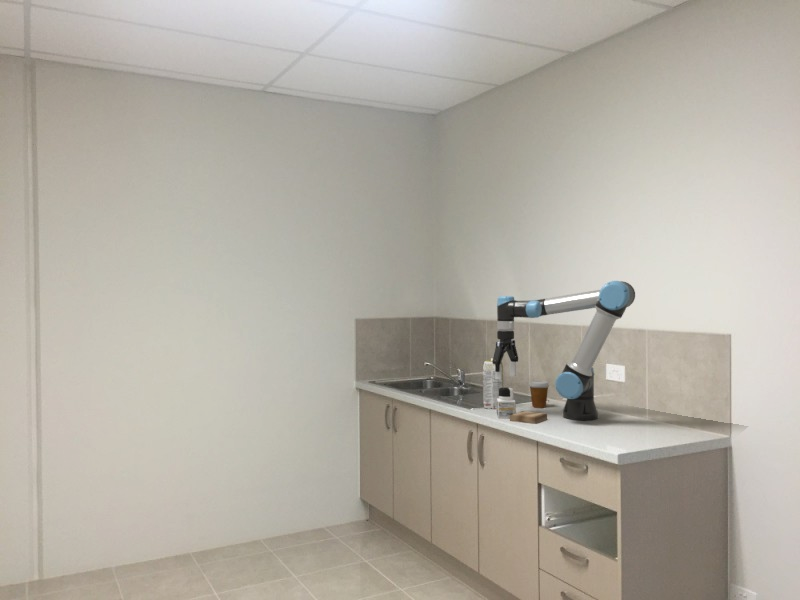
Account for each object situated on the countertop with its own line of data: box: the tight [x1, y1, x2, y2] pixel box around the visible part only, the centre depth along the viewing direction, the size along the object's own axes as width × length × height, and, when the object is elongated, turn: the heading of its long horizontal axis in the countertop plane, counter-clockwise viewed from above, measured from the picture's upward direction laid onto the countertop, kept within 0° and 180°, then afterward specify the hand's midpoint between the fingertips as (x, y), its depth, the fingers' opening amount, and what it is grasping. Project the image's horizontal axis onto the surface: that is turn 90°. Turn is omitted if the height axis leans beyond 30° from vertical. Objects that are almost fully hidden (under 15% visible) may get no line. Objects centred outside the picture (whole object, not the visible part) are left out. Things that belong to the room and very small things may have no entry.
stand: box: [509, 410, 548, 425], centre depth 306 cm, size 12×12×3 cm
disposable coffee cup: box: [529, 380, 550, 409], centre depth 340 cm, size 10×10×12 cm
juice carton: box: [482, 358, 504, 410], centre depth 338 cm, size 9×8×24 cm
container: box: [496, 387, 517, 419], centre depth 315 cm, size 8×8×13 cm
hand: (505, 377), depth 315 cm, fingers open, 13 cm apart
